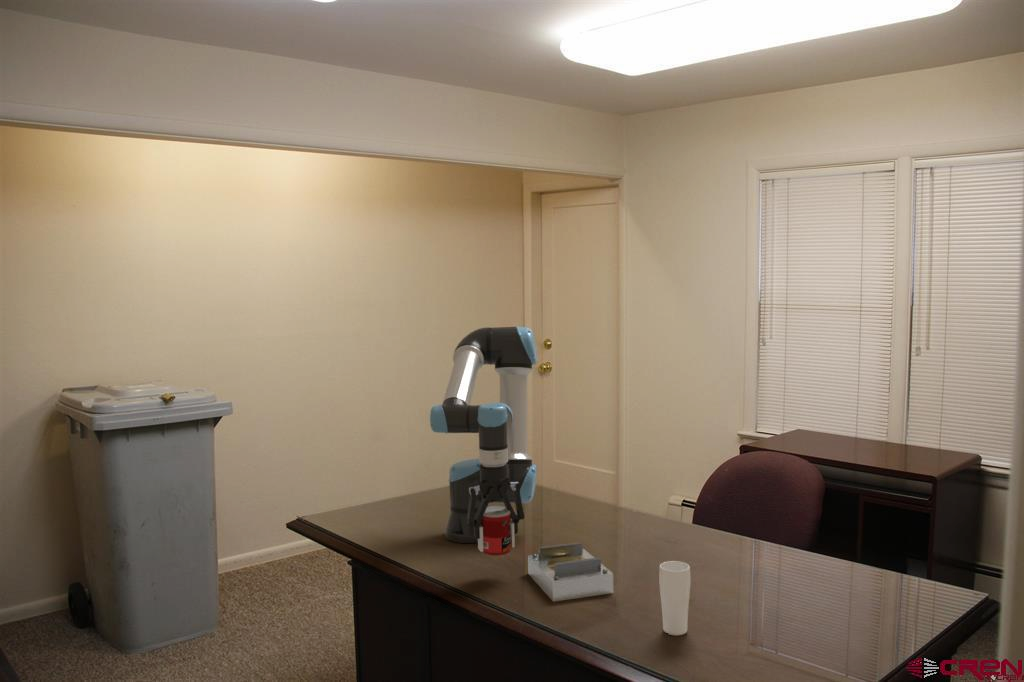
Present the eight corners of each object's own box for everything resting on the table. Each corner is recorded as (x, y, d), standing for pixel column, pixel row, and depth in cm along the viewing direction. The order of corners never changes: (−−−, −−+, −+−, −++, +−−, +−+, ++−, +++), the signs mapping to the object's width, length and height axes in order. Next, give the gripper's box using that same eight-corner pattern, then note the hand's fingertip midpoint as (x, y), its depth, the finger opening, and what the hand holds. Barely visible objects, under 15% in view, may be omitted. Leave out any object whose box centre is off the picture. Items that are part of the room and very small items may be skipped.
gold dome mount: (528, 573, 222) (527, 544, 221) (583, 566, 226) (583, 537, 226) (553, 601, 203) (552, 569, 202) (613, 592, 207) (612, 561, 206)
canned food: (508, 556, 214) (507, 515, 212) (478, 555, 215) (477, 514, 214) (514, 546, 221) (513, 506, 220) (485, 544, 223) (483, 505, 221)
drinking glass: (656, 625, 187) (655, 561, 186) (685, 624, 188) (685, 559, 187) (664, 638, 181) (663, 572, 179) (694, 637, 181) (694, 570, 180)
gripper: (458, 471, 209) (461, 558, 212) (536, 463, 215) (538, 547, 217) (452, 464, 216) (455, 548, 219) (527, 456, 222) (529, 538, 225)
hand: (496, 547), depth 218 cm, fingers closed on canned food, 8 cm apart
